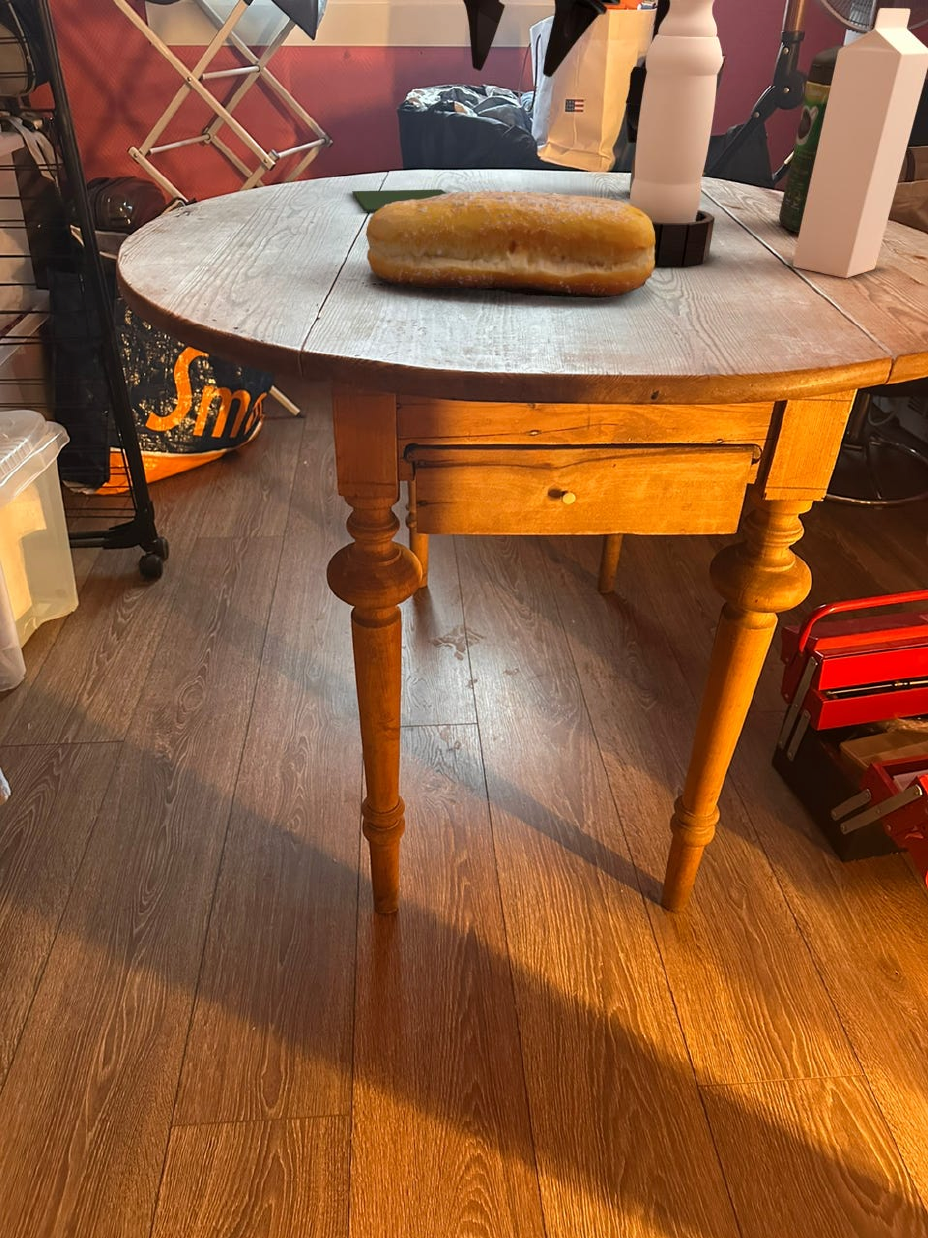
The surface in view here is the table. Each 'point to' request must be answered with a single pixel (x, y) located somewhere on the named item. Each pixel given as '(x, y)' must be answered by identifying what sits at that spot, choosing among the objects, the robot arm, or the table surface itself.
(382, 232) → the bread
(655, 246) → the holder
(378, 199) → the mat
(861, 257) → the milk
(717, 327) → the table surface
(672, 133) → the water bottle
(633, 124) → the robot arm
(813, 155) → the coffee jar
